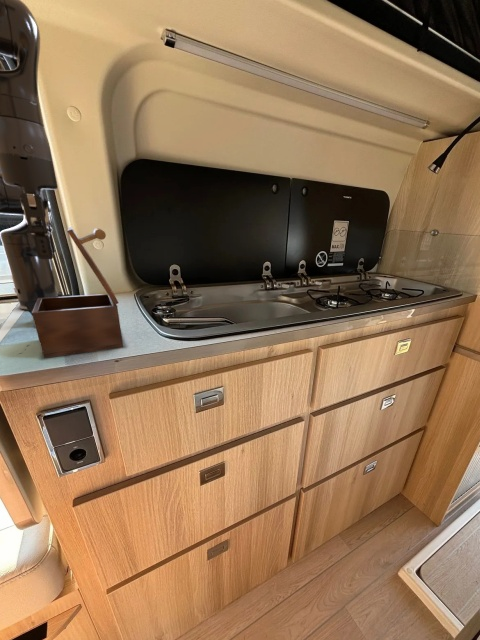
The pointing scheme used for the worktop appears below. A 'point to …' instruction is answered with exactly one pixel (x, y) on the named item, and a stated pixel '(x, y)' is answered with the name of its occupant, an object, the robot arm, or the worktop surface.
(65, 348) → the chest
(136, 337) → the worktop surface
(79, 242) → the lid
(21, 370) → the worktop surface
